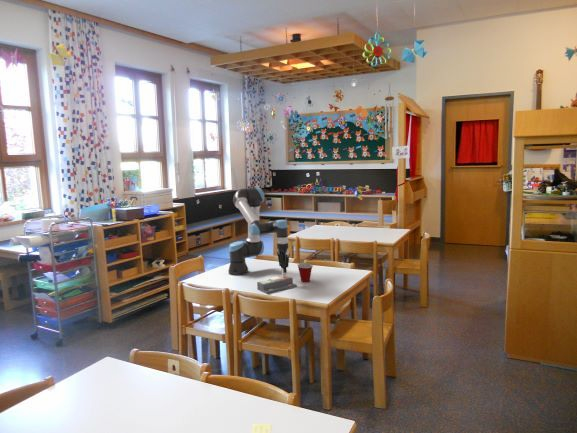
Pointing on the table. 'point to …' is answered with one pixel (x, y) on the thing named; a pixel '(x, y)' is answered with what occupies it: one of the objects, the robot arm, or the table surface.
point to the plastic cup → (305, 271)
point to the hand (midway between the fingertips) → (284, 276)
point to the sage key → (265, 282)
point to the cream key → (274, 279)
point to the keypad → (276, 286)
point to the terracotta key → (284, 278)
